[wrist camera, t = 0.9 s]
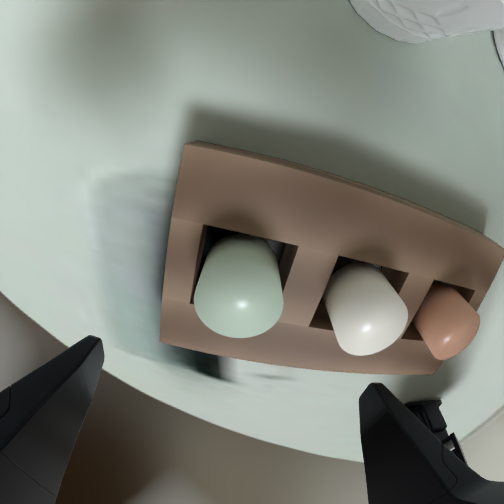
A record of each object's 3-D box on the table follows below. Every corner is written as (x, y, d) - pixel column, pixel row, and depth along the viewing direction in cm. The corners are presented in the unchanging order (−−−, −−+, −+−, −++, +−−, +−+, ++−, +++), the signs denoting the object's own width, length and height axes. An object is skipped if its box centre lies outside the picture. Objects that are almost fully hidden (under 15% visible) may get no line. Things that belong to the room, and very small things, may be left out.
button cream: (368, 321, 17) (385, 357, 14) (314, 312, 17) (324, 352, 14) (394, 269, 16) (420, 301, 13) (337, 255, 15) (356, 288, 12)
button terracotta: (438, 330, 18) (458, 359, 15) (402, 326, 18) (421, 359, 15) (463, 287, 16) (488, 314, 13) (428, 278, 16) (455, 308, 13)
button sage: (267, 304, 17) (269, 344, 14) (200, 289, 16) (189, 328, 13) (286, 243, 15) (295, 276, 12) (212, 226, 15) (201, 255, 12)
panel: (420, 352, 22) (433, 374, 19) (169, 314, 20) (159, 341, 17) (483, 234, 17) (506, 250, 14) (196, 140, 15) (184, 144, 12)
